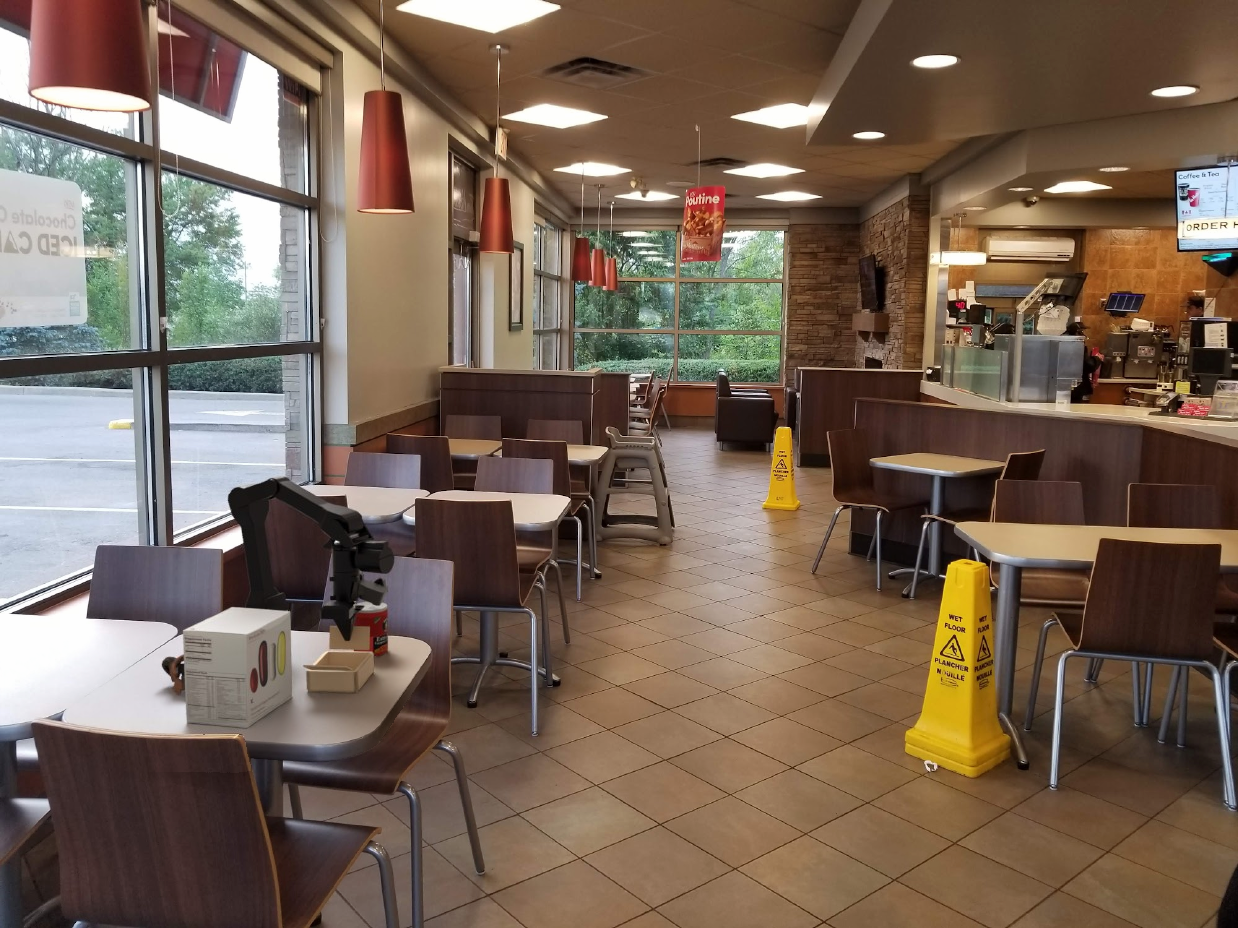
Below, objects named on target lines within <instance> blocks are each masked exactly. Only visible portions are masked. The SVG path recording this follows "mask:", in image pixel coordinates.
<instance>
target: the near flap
mask: <svg viewBox="0 0 1238 928" xmlns="http://www.w3.org/2000/svg"><path fill="white" fill-rule="evenodd" d="M302 667H303V668H304V669H306V670H307V669H310V670H343V671H353V669H351V668H350V667H348V666H330V665H312V664H303V665H302Z"/></svg>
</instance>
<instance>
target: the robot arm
mask: <svg viewBox="0 0 1238 928" xmlns="http://www.w3.org/2000/svg"><path fill="white" fill-rule="evenodd" d="M274 499H278V500H279V501H281V502H283V503H284V504H286V505H287V506H289V507H290V508H292V509H295V510H296V511H298V512H299V513H301V514H303V515H304V516H307V517H308V518H310V519H312V520H313V521H314V522H315V523H317V525H318V527H319V529H320V530H321V531H322V532H323V533H324V534H325V535H327V537H329V538H328V540H327V541H326V542H325V543H324V544H322V549H326V550H327V549H328V550H331V567H332V568H331V575H330V576H329V582H332V593H331V594H330V595H329V601H327V602H326V603H325V604H324V605H323V606H321V607H320V608H319V619H320V620H333V622H334V623H335V626H337V627H338V629H339V631H340V633H341V635H342V636H343V638H344V640H345V641H350V640H351V636H352V631H353V627H354V623H355V619H356V615H357V614H358V613H359V612H360V611H361V610H362V609H363V608H364V607H365V606H364V605H358V603H359V600H362V601H363V602H370V603H372V604H373V605H375V606H380V605H381V603H385V601H384V600H385V599H386V595H387V594H388V592H389V586H387V583H386V578H384V577H381V576H380V577H378V578H376V579H375V581H373V580H367V579H365V573H370V574H371V573H373V574H380V575H381V574H382V575H387V574H389V573H390V572H391V571H392V569H393V567H394V564H395V554H394V551H393V549H392V548H391V547H390V546H389V541H387V540H379V541H377V540H375V538H374V536H373V534H372V533H371V531H370V529H369V528H368V527H367V525H366V523H365V522H364V519H363V516H362V514H361V513H360V512H359V511H357V510H355V509H353V508H350V507H347V506H345V505H344V506H343V505H340V504H339V505H337V504H334V503H331V502H328V501H326V500H325V499H323V498H321V497H319V496H317V495H316V494H314V493H312V492H311V491H309V490H307V489H305V488H304V487H302V486H300V485H299V484H297V483H295V482H293V481H291V479H289V477H288V476H285V475H280V476H274V477H269V478H268V479H266V480H264V481H261V482H259V483H251V484H245V485H241V486H236V487H233V488H232V489H231V490H230V492H229V493H228V495H227V503H228V507H229V510H230V513H231V517H232V518H233V519H234V520H235V521H236V522H237V524H238V525H239V527H240V530H241V536H242V543H243V549H244V557H245V563H246V569H247V577H248V581H249V582H248V583H249V589H250V591H249V594H248V597H247V600H246V602H245V608H253V609H266V610H279V611H288V610H289V607H288V605H287V595H286V593H285V592H281V593H280V592H279V591H278V590H277V588H276V587H275V584H274V578H273V572H272V565H271V560H270V559H271V558H270V552H269V545H268V538H267V532H266V520H267V517H268V514H269V511H270V501H271V500H274ZM355 536H356V537H355Z"/></svg>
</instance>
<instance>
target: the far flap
mask: <svg viewBox="0 0 1238 928" xmlns="http://www.w3.org/2000/svg"><path fill="white" fill-rule="evenodd" d="M369 636H370V627H363V626H354V627H353V631H352V636H351V640H350V641H345V640H344V638H343V636H342V635H341V633H340V631H339V629H338V627H337V625H329V646H328V649H329V650H342V651H345V650H346V651H350V650H351V651H354V650H369Z"/></svg>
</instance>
